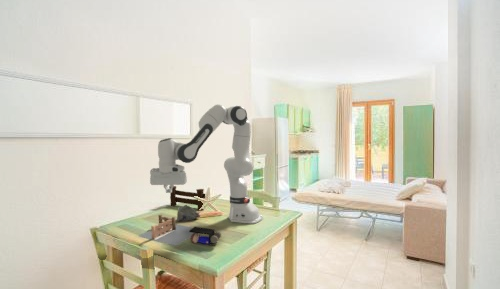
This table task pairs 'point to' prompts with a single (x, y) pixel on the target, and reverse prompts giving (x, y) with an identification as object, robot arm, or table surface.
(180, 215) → the mineral rock
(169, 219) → the fixed fence section
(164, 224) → the hinged fence panel
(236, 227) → the table surface
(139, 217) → the table surface
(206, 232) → the figurine character
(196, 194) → the decorative fence
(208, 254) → the table surface
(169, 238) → the card
